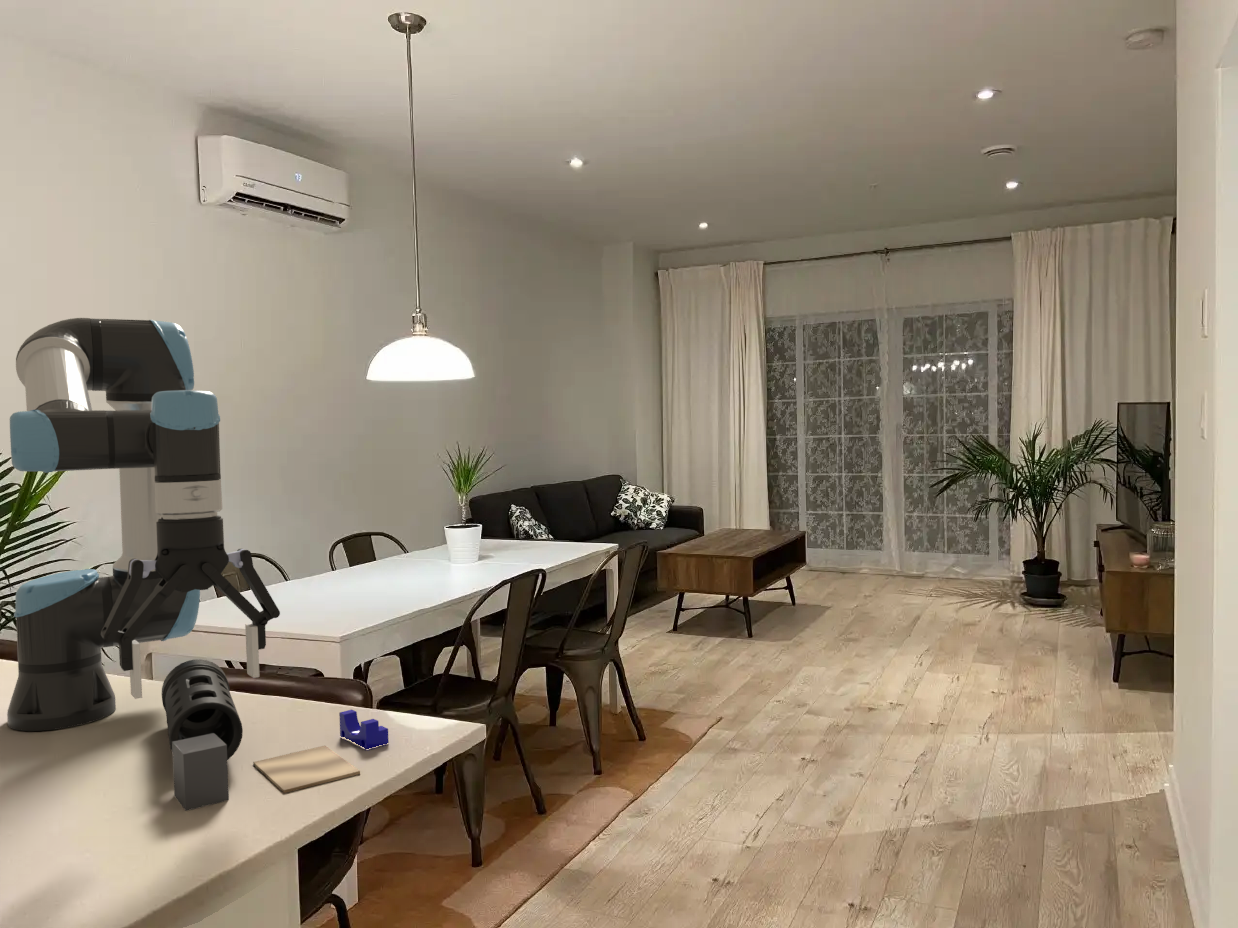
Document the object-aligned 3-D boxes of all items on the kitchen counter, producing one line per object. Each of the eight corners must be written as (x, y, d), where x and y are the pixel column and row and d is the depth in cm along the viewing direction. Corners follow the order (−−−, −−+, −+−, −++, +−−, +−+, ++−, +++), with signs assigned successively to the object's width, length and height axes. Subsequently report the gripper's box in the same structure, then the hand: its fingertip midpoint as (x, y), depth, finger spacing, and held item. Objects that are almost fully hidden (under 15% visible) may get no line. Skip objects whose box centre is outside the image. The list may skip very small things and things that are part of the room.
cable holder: (388, 745, 134) (387, 718, 134) (366, 751, 132) (365, 724, 132) (361, 733, 140) (360, 707, 140) (340, 738, 138) (339, 712, 138)
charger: (171, 792, 118) (169, 738, 118) (212, 782, 121) (210, 729, 121) (185, 811, 112) (183, 754, 112) (228, 800, 115) (226, 744, 115)
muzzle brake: (168, 784, 121) (165, 706, 121) (162, 725, 146) (159, 660, 146) (246, 770, 126) (243, 695, 125) (227, 715, 150) (225, 652, 150)
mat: (253, 764, 127) (253, 761, 127) (325, 748, 133) (324, 745, 133) (284, 793, 117) (283, 790, 117) (360, 773, 123) (360, 770, 123)
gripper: (78, 525, 104) (87, 712, 105) (300, 509, 119) (307, 672, 120) (69, 521, 110) (77, 698, 111) (282, 507, 125) (288, 662, 126)
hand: (197, 685), depth 115 cm, fingers open, 13 cm apart
